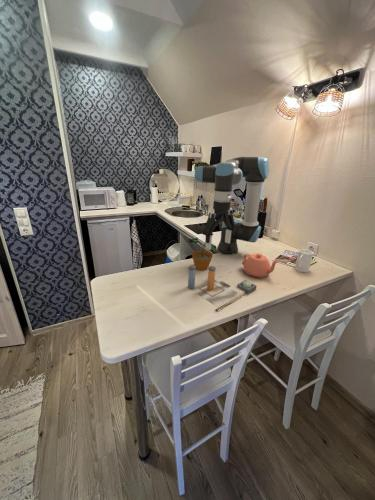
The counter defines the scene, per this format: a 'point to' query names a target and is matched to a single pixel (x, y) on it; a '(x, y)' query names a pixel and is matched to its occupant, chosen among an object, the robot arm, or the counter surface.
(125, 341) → the counter surface
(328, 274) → the counter surface
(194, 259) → the potted plant
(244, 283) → the button
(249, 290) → the button base
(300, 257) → the mug
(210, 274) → the orange marker
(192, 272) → the blue marker
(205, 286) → the clipboard
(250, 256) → the teapot
